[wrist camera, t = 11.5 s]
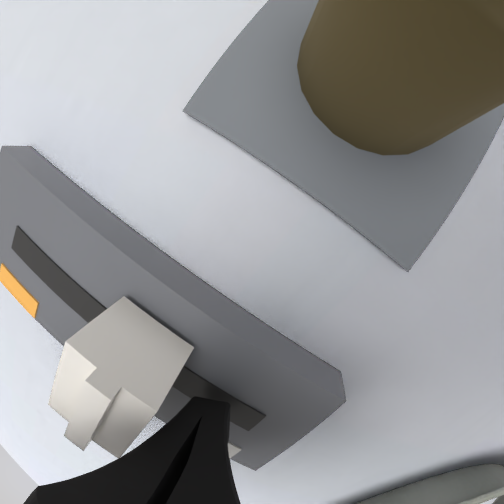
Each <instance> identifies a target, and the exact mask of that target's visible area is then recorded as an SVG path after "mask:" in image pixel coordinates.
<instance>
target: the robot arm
mask: <svg viewBox="0 0 504 504" xmlns="http://www.w3.org/2000/svg"><path fill="white" fill-rule="evenodd" d="M230 408H231V405H230V404H229V403H228V402H224V401H218V400H212V399H207V398H202V397H197V396H194V397H193V398H192V399H191V400H190V401H189V402H188V403H187V404H186V405H185V406H184V407H183V408H182V409H181V410H180V411H179V412H178V413H177V414H176V415H175V416H174V417H173V418H172V419H171V420H170V421H169V422H168V423H167V424H165V425H164V426H163V427H162V428H161V429H160V430H159V431H158V432H156V433H155V434H154V435H153V436H151V437H150V438H149V439H147V440H146V441H145V442H143V443H142V444H141V445H139V446H138V447H136V448H135V449H133V450H132V451H130V452H129V453H127V454H125V455H124V456H122V457H120V458H119V459H117V460H115V461H113V462H111V463H109V464H107V465H105V466H103V467H101V468H99V469H96V470H94V471H92V472H89V473H86V474H83V475H81V476H78V477H75V478H72V479H69V480H65V481H61V482H57V483H52V484H48V485H42V486H38V487H37V488H36V489H35V490H34V491H33V492H32V493H31V494H30V496H29V497H28V498H27V500H26V501H25V502H24V504H240V501H239V497H238V494H237V491H236V487H235V483H234V479H233V475H232V470H231V465H230V459H229V452H228V441H229V430H230Z"/></svg>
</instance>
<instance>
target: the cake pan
mask: <svg viewBox="0 0 504 504" xmlns="http://www.w3.org/2000/svg"><path fill="white" fill-rule="evenodd" d="M496 497H498V498H497V499H496V500H495V501H494V502H493V503H492V504H504V466H502V465H499V464H482V465H476V466H471V467H466V468H462V469H458V470H454V471H451V472H447V473H443V474H440V475H437V476H433V477H430V478H427V479H424V480H421V481H418V482H415V483H412V484H409V485H406V486H403V487H400V488H397V489H394V490H391V491H388V492H386V493H383V494H380V495H377V496H374V497H372V498H369V499H366V500H364V501H361V502H358V503H356V504H480V503H483V502H485V501H488V500H491V499H493V498H496Z"/></svg>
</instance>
